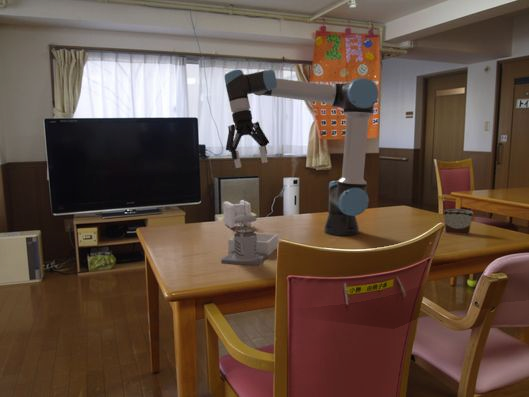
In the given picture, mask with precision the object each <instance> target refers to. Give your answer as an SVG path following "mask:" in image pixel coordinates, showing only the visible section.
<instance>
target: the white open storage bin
mask: <svg viewBox="0 0 529 397" xmlns="http://www.w3.org/2000/svg"><path fill="white" fill-rule="evenodd" d="M255 233H256V234H257V240H256V241H257V253H261V254H267V257H269V256H270V255H271V254H272V253H273V252H274V251H276V250H277V249H278V248H277V244H278V245H279V233H278V234H276V233H263V232H255ZM240 234H241V233H240ZM242 237H243V234H242ZM250 237H252V236H250ZM227 242H228V243H227V245H228V246H227V247H228V254H230V253H231V252H233V251H234V250H235V249H234V247H235V246H234V243H235V242H234V236H232V237H230V238H229V239H228V241H227ZM254 244H255V243H254ZM241 245H243V243H241ZM254 247H255V246H254ZM241 249H243V247H241ZM241 252H243V251H241Z"/></svg>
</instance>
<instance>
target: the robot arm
mask: <svg viewBox="0 0 529 397" xmlns="http://www.w3.org/2000/svg"><path fill="white" fill-rule="evenodd" d="M224 83H225V89H226V93H227V97H228V103H229V108H230V111H231V113H232V114H231V117H232V122H233V123H234V124H231V125H228V126H227V128H228V129H227V130H228V134H227V140H226V145H225V150H226V151H228V152H229V153H230V154H231V158H232V160H233V161H234V165H235V169H239V168H242V162H241V158H240V153H239V150H238V146H239V143H240V142H241V139H242V137H243V136H250V137H251V138H252V139H253V140H254V141H255V142H256V143H257V144H258V145H259V147H258V148H259V149H258V150H259V154H260V158H261V162H262V164H264V163H265V164H266V163H268V162H269V161H268V155H267V154H268V149H267V146H268V144H269V143H270V140H268V137H267V136H266V134H265V132H264V131H263V129H262V127H261V126H260V122H259V121H255V122H253V115H252V114H253V113H252V110H251V104H250V101H249V96H248V95H252V94H253V95H255V96H267V97H274V98H275V97H276V98H283V99H284V98H285V99H291V100H299V101H307V102H316V103H323V104H328V105H329V106H330V107H335V108H340V109H343V111H342V113H343V115H344V116H345V118H346V123H345V132H344V133H345V134H344V135H345V136H344V146H343V159H342V171H341V172H342V173H341V177H340V178H339V179H338V180H332V181H330V182H329V184H328V216H327V218H326V221H325V224H324V227H323V228H324V233H326V234H329V235H333V236H334V235H335V236H354V235H357V234H359V233H360V226H359V224H358V223H359V222H358V220H357V216H359V215H361V214H363V213H364V212H366V209H368V206H369V202H370V201H369V200H370V199H369V195H368V193H367V181H366V180H365V179H364V177H365V176H364V174H365V163H366V151H367V140H368V130H369V128H368V127H369V119H370V118H371V117H372V116H373V115H374V107H375V106H374V105H375V104H376V102H377V101H378V99H379V89H378V86H377V84H376V83H375V82H374V81H373V80H372V79H370V78H367V77H360V78H359V77H357V78H355V79H353V80H352V81H350V82H345V83H336V82H334V83H332V84H324V83H318V82H317V83H315V82H310V81H299V80H291V79H284V78H277V77H276V73H275V70H274V69H267V70H266V69H265V70H262V71H256V72H251V73H247V74H244V72H243V70H242V69H232V70H229V71H227V72H226V73H225V74H224Z"/></svg>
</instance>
